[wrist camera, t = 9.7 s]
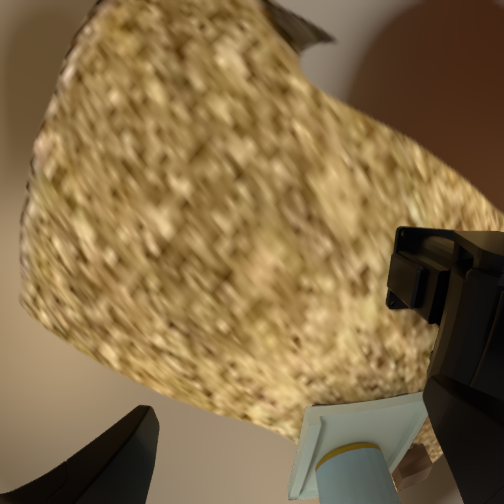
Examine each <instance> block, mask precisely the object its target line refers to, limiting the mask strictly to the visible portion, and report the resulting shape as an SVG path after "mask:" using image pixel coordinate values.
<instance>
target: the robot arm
mask: <svg viewBox="0 0 504 504" xmlns="http://www.w3.org/2000/svg"><path fill="white" fill-rule="evenodd" d="M402 231H404V235H403V236H401V232H402ZM387 287H388V292H387V298H386V306H387V307H388V308H389V309H404V308H410V309H414V310H415V311H416V312H417V313H418V314H419V315H420V316H421V317H422V318H423V319H424V320H426V321H427V322H428V323H429V324H435V325H436V326H437V327H438V328H439V331H438V335H437V338H436V342H435V346H434V349H433V351H431V355H430V363H429V366H428V369H427V382H426V385H425V388H424V391H423V395H422V398H423V402H424V404H425V407H426V410H427V413H428V416H429V419H430V422H431V425H432V428H433V430H434V433H435V435H436V438H437V440H438V442H439V444H440V446H441V449H442V451H443V453H444V455H445V458H446V460H447V462H448V464H449V467H450V469H451V472H452V474H453V477H454V479H455V481H456V484H457V487H458V489H459V492H460V494H461V497H462V500H463V502H464V504H504V232H500V231H456V230H449V229H436V228H422V227H408V226H400V227H398V228H397V230H396V234H395V244H394V252H393V254H392V255H391V262H390V269H389V275H388V282H387ZM393 300H394V302H393V303H392V304H390V303H391V302H392V301H393ZM158 435H159V421H158V419H157V417H156V414H155V412H154V409H153V408H152V407H151V406H147V405H139V406H137V407H136V408H134V409H133V410H132V411H131V412H129V413H128V414H127V415H126V416H124V417H123V418H122V419H121V420H119V421H118V422H117V423H115V424H114V425H113V426H112V427H110V428H109V429H108V430H106V431H105V432H104V433H102V434H101V435H100V436H99V437H97V438H96V439H95V440H93V441H92V442H90V443H89V444H88V445H86V446H85V447H84V448H82V449H81V450H80V451H78V452H77V453H76V454H74V455H73V456H71V457H70V458H68V459H67V461H64V462H63V463H61V464H60V465H58V466H57V467H55V468H54V469H52V470H51V471H49V472H48V473H46V474H44V475H43V476H41V477H39V478H37V479H35V480H33V481H31V482H30V483H28V484H25V485H23V486H21V487H19V488H17V489H15V490H13V491H10V492H7V493H3V494H0V504H145V503H146V498H147V494H148V490H149V486H150V482H151V478H152V474H153V470H154V466H155V459H156V451H157V443H158Z"/></svg>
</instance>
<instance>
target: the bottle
mask: <svg viewBox="0 0 504 504" xmlns="http://www.w3.org/2000/svg"><path fill="white" fill-rule="evenodd" d="M315 472H316V480H317V487H318V494H319V501H320V504H400V501H399V498H398V495H397V492H396V489H395V486H394V483H393V481H392V478H391V475H390V472H389V470H388V467H387V464H386V461H385V459H384V456H383V453H382V451H381V449H380V448H379V447H378V446H377V445H374V444H371V443H368V442H356V443H349V444H346V445H343V446H340V447H338V448H336V449H333V450H331V451H330V452H328V453H327V454H325V455H324V456H323V458H322V459H321V460H320V461H319V462H318V463H317V465H316V468H315Z"/></svg>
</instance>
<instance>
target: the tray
mask: <svg viewBox="0 0 504 504" xmlns="http://www.w3.org/2000/svg"><path fill="white" fill-rule="evenodd" d="M422 395H423V391H422V392H418V393H413V394H401V395H397V396H396V397H392V398H387V399H380V400H374V401H367V402H359V403H351V404H341V405H330V406H324V405H312V407H306V410H305V415H304V420H303V425H302V430H301V434H300V439H299V443H298V448H297V452H296V456H295V461H294V465H293V469H292V473H291V477H290V481H289V485H288V497H289V500H301V499H313V498H319V494H318V487H317V480H316V472H315V468H316V465H317V463H318V462H319V461H320V460H321V459H322V458H323V456H324V455H325V454H327V453H328V452H330V451H331V450H333V449H336V448H338V447H340V446H343V445H346V444H349V443H356V442H368V443H371V444H374V445H377V446H378V447H379V448H380V449H381V451H382V453H383V456H384V459H385V461H386V464H387V467H388V470H389V472H390V475H391V474H392V472H393V471H394V470H395V468H396V467H397V465H398V464H399V462H400V461H401V460H402V458H403V457H404V455H405V453H406V452H407V450H408V449H409V447H410V446H411V444H412V442H413V441H414V439H415V437H416V436H417V434H418V432H419V431H420V429H421V427H422V425H423V424H424V422H425V420H426V418H427V416H428V413H427V410H426V407H425V404H424V402H423V398H422Z"/></svg>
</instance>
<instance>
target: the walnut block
mask: <svg viewBox="0 0 504 504" xmlns="http://www.w3.org/2000/svg"><path fill="white" fill-rule="evenodd" d="M432 467H433V464H432V462H431V460H430V458H429V456H428V454H427V452H426V450H425V448H424V446H423V444H420V445H418V446H416V447H413V448H411V449H409V450H407V452H406V453H405V455H404V457H403V458H402V460H401V461H400V462H399V464H398V465H397V467H396V468H395V470H394V471H393V472H392V477H393V480H394V482H395V485H396V488H397V491H399V490H402V489H404V488H407V487H409V486H412V485H414V484H417V483H419V482H421V481H423V480H425V479H427V477H428V475H429V473H430V471H431V469H432Z"/></svg>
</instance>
